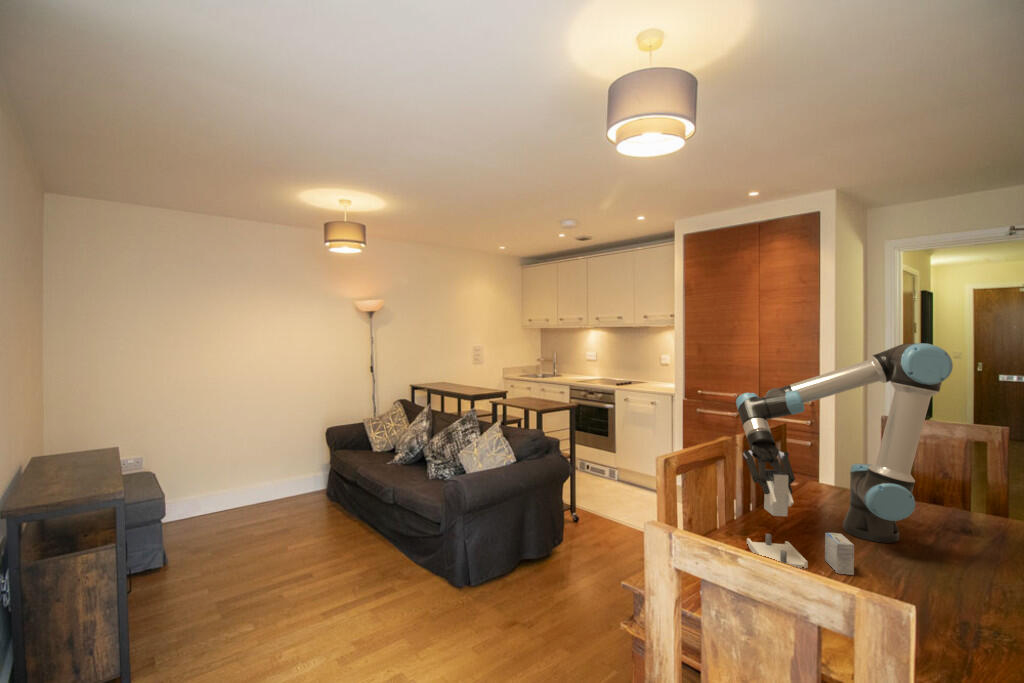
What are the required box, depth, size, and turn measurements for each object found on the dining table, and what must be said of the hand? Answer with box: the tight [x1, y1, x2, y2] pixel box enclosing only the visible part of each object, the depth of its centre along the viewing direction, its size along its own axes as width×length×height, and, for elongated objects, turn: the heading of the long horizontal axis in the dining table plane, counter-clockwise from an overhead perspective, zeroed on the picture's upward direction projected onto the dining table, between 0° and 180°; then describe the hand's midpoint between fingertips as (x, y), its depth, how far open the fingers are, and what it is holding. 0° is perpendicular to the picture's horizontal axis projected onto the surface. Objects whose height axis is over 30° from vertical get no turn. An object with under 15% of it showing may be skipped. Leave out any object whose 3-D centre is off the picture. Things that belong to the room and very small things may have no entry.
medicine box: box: [824, 532, 855, 576], centre depth 139 cm, size 8×4×9 cm, turn 168°
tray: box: [746, 533, 809, 570], centre depth 146 cm, size 12×14×4 cm
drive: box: [763, 468, 789, 517], centre depth 146 cm, size 4×6×12 cm
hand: (782, 504), depth 143 cm, fingers closed on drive, 4 cm apart
